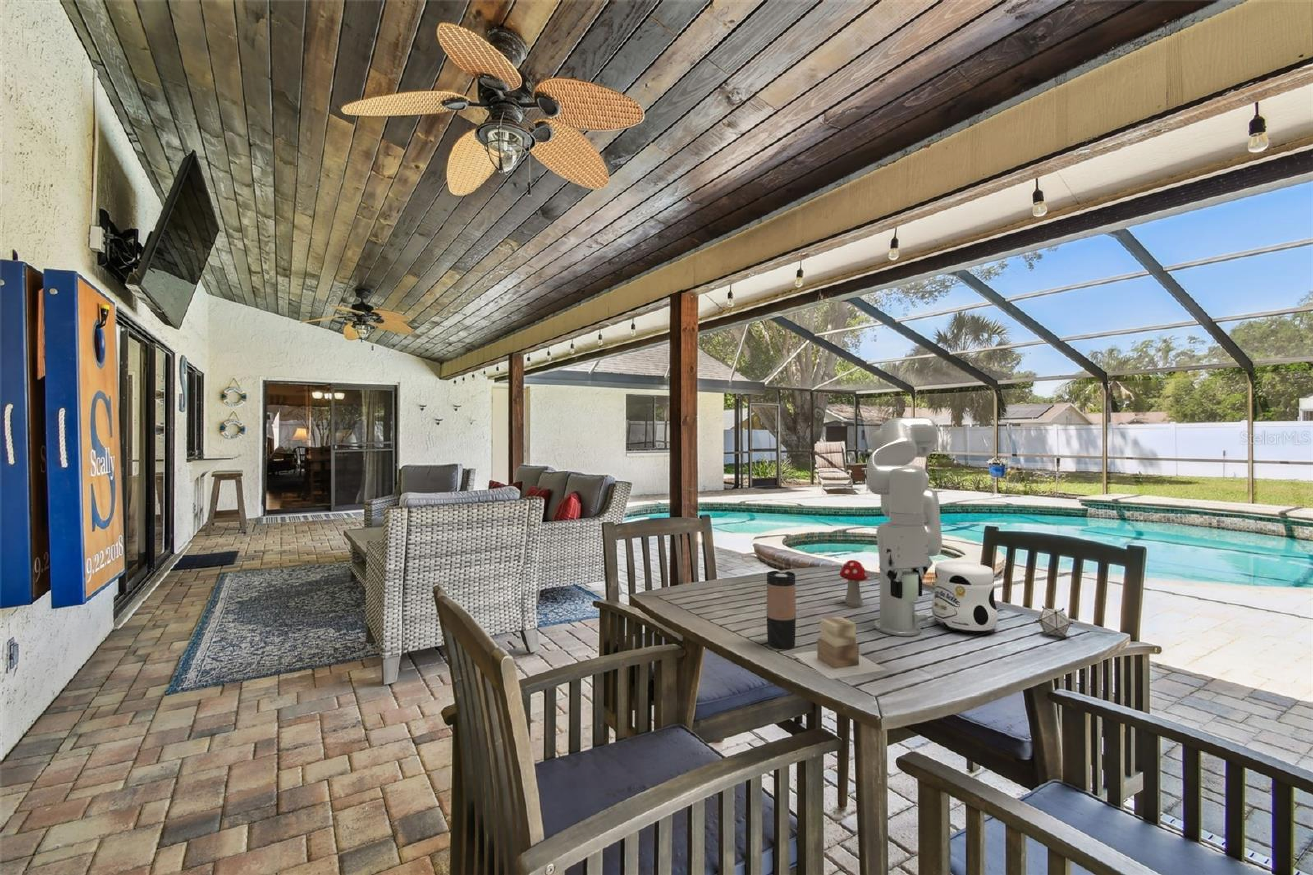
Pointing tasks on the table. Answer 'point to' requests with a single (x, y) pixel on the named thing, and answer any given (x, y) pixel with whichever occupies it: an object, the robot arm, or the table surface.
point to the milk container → (964, 597)
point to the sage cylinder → (909, 586)
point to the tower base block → (838, 654)
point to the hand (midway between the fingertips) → (906, 595)
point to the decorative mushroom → (853, 582)
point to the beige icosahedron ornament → (1054, 622)
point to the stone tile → (832, 673)
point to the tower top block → (838, 631)
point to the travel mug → (781, 610)
